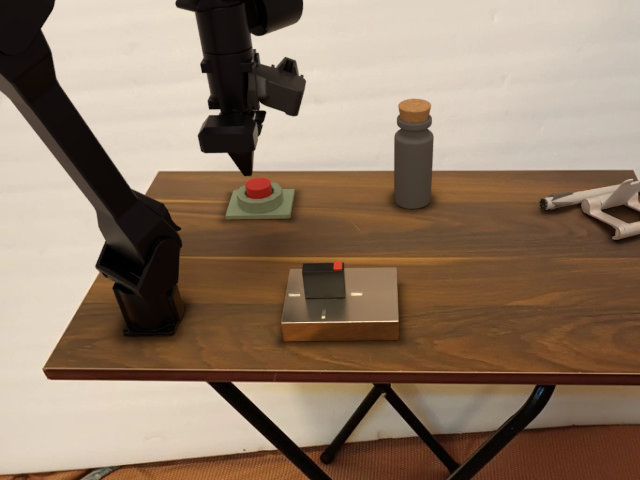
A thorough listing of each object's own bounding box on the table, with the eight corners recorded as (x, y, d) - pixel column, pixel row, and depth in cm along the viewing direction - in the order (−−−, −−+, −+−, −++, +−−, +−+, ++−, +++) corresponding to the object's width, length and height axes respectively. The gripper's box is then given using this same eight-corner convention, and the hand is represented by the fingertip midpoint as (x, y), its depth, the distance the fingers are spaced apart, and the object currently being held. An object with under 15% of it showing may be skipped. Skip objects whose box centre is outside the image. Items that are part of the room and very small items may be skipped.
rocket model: (546, 209, 95) (712, 179, 102) (543, 193, 95) (710, 164, 101) (539, 213, 97) (701, 183, 104) (536, 197, 97) (699, 169, 104)
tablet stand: (672, 226, 91) (634, 232, 99) (664, 171, 90) (627, 181, 98) (621, 239, 89) (587, 244, 97) (613, 182, 88) (579, 192, 96)
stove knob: (305, 298, 78) (301, 270, 75) (306, 289, 79) (302, 261, 76) (345, 297, 78) (343, 269, 75) (345, 288, 79) (343, 260, 76)
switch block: (225, 219, 97) (222, 205, 96) (234, 193, 103) (231, 179, 101) (290, 218, 97) (288, 204, 96) (295, 192, 103) (293, 178, 101)
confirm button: (244, 200, 97) (243, 190, 96) (248, 187, 100) (246, 177, 99) (270, 200, 97) (269, 189, 96) (273, 187, 100) (272, 177, 99)
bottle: (387, 196, 101) (386, 101, 91) (418, 187, 103) (421, 93, 93) (405, 213, 98) (407, 116, 87) (437, 203, 100) (443, 107, 89)
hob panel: (284, 341, 77) (280, 321, 75) (292, 287, 85) (289, 267, 83) (398, 340, 77) (398, 320, 75) (396, 285, 85) (396, 266, 82)
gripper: (290, 74, 65) (304, 210, 76) (303, 21, 79) (313, 142, 89) (183, 76, 65) (212, 212, 76) (214, 22, 79) (235, 144, 89)
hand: (248, 174), depth 83 cm, fingers closed
